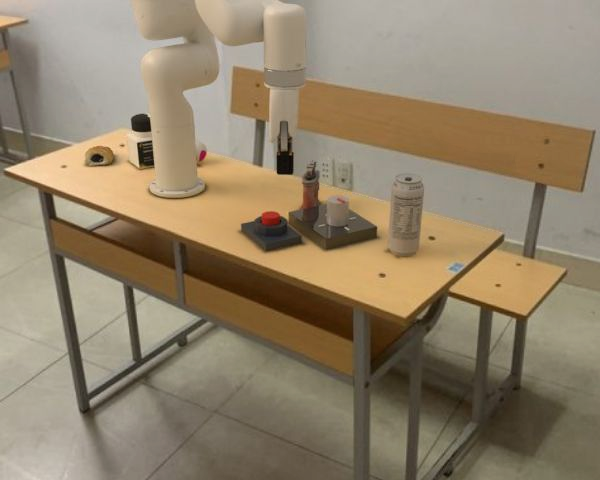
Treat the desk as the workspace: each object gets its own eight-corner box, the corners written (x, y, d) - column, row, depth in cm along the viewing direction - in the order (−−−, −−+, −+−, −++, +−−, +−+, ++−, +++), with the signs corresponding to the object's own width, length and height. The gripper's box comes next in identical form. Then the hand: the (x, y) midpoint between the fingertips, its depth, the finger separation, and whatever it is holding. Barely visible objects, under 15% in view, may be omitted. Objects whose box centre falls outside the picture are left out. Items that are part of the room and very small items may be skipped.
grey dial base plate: (288, 223, 162) (288, 211, 161) (337, 212, 167) (337, 200, 166) (325, 250, 151) (326, 237, 149) (376, 237, 156) (377, 225, 155)
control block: (241, 231, 158) (240, 215, 156) (275, 223, 162) (275, 208, 160) (265, 251, 150) (265, 235, 148) (301, 243, 153) (301, 227, 152)
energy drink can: (419, 246, 153) (426, 173, 145) (417, 259, 147) (423, 184, 140) (389, 242, 154) (394, 171, 146) (385, 256, 149) (390, 182, 141)
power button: (258, 221, 155) (258, 213, 154) (274, 218, 156) (274, 209, 156) (266, 227, 152) (266, 219, 151) (283, 224, 154) (283, 216, 153)
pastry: (91, 154, 199) (89, 139, 197) (117, 154, 200) (116, 139, 198) (84, 166, 191) (82, 151, 189) (112, 166, 192) (110, 151, 190)
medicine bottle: (139, 169, 190) (134, 121, 184) (128, 161, 195) (123, 114, 189) (166, 164, 193) (162, 117, 187) (155, 156, 198) (151, 109, 192)
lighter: (314, 216, 165) (315, 171, 160) (299, 214, 166) (299, 170, 161) (321, 202, 172) (322, 158, 167) (306, 200, 173) (306, 157, 168)
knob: (322, 220, 157) (322, 196, 154) (340, 216, 159) (341, 192, 156) (333, 228, 154) (334, 203, 151) (352, 224, 155) (353, 199, 153)
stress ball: (184, 180, 193) (189, 163, 187) (170, 155, 195) (175, 138, 189) (211, 173, 196) (216, 156, 191) (197, 148, 199) (202, 131, 193)
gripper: (266, 67, 147) (267, 160, 156) (261, 87, 134) (263, 187, 143) (306, 67, 147) (305, 160, 156) (305, 87, 134) (304, 187, 143)
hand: (285, 173), depth 150 cm, fingers closed
